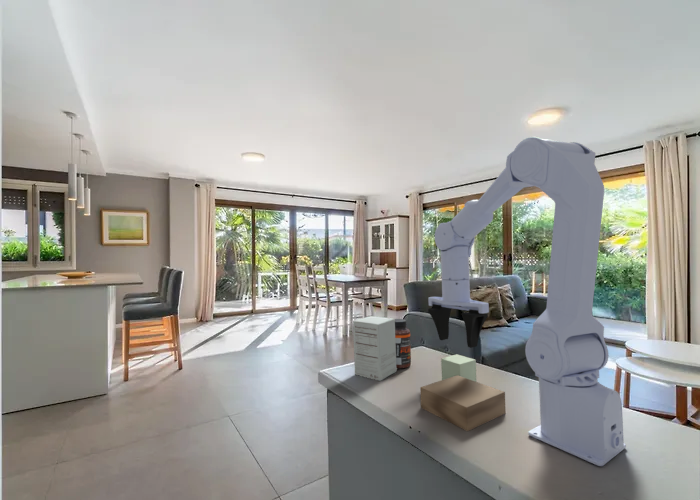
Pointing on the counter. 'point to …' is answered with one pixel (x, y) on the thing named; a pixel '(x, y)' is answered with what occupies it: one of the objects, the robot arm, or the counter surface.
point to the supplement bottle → (402, 344)
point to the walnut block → (463, 401)
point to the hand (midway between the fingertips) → (457, 342)
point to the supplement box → (374, 347)
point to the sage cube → (458, 367)
